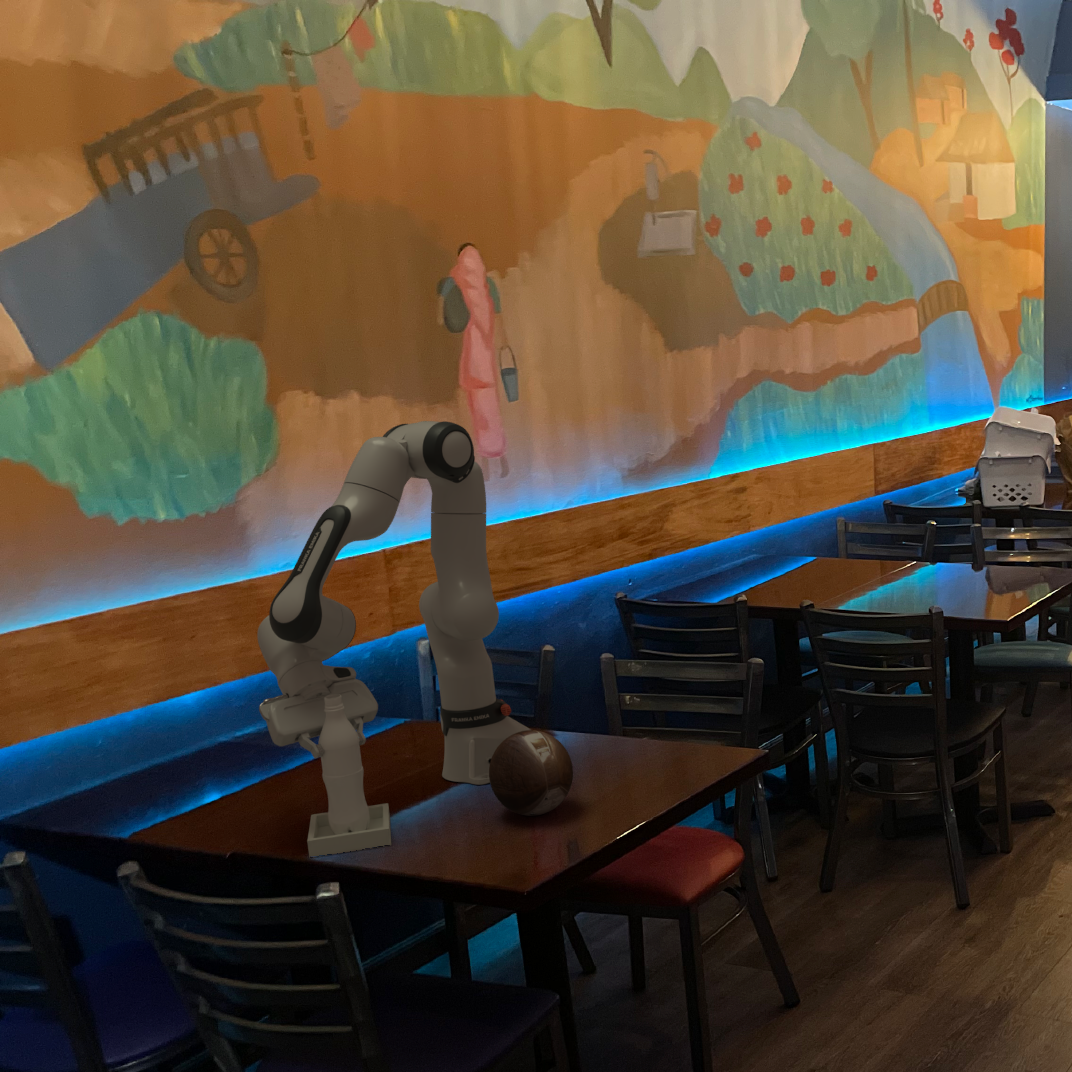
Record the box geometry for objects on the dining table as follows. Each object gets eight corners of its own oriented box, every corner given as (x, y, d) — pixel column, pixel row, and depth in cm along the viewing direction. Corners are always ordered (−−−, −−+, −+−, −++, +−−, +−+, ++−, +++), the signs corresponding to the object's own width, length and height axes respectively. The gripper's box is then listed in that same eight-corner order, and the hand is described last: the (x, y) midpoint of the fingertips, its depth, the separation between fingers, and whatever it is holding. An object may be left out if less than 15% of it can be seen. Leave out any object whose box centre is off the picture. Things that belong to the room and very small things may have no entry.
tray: (390, 818, 222) (388, 803, 222) (391, 845, 208) (389, 828, 208) (313, 830, 221) (311, 814, 220) (309, 857, 207) (307, 841, 206)
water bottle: (363, 840, 210) (345, 700, 207) (324, 842, 212) (305, 703, 209) (376, 825, 217) (358, 690, 214) (339, 827, 218) (320, 692, 216)
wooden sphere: (537, 833, 206) (527, 748, 204) (476, 820, 216) (466, 739, 215) (594, 806, 217) (585, 724, 215) (533, 794, 227) (524, 716, 225)
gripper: (258, 691, 211) (291, 754, 204) (361, 665, 223) (395, 724, 216) (251, 712, 215) (283, 775, 208) (352, 686, 227) (385, 744, 220)
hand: (341, 749), depth 212 cm, fingers closed on water bottle, 7 cm apart
